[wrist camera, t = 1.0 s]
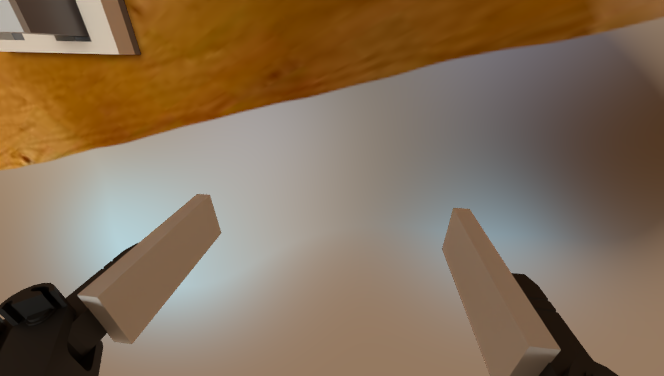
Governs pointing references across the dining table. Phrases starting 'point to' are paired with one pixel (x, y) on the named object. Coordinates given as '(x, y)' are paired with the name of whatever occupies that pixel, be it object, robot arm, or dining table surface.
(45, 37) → the strip
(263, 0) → the dining table surface
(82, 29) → the grey square peg
